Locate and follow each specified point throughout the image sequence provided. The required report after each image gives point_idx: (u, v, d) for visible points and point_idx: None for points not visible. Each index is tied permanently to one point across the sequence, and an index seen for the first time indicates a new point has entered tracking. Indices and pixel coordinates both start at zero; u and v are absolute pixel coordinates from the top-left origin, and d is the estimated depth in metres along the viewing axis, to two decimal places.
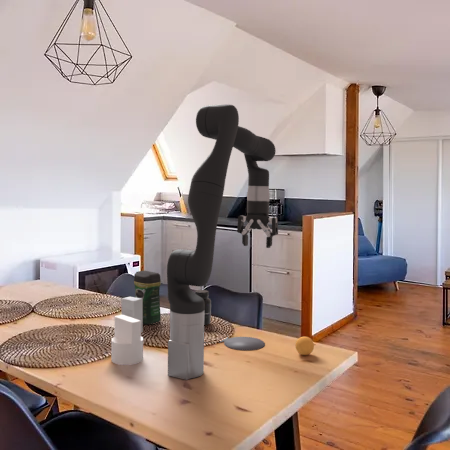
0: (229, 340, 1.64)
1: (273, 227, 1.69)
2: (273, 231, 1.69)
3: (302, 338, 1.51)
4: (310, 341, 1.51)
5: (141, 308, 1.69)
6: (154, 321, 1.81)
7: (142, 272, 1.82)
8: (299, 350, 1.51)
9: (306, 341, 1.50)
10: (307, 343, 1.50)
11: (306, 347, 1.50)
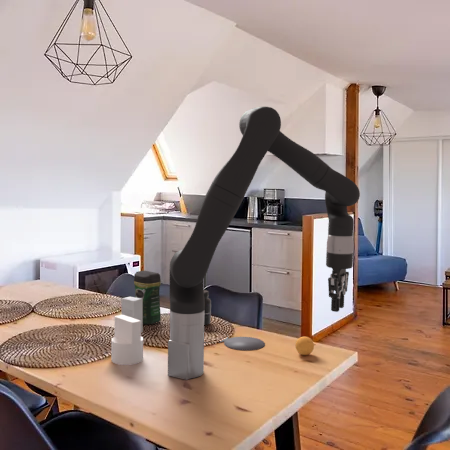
0: (229, 340, 1.64)
1: (347, 282, 1.51)
2: (346, 287, 1.50)
3: (302, 338, 1.51)
4: (310, 341, 1.51)
5: (141, 308, 1.69)
6: (154, 321, 1.81)
7: (142, 272, 1.82)
8: (299, 350, 1.51)
9: (306, 341, 1.50)
10: (307, 343, 1.50)
11: (306, 347, 1.50)
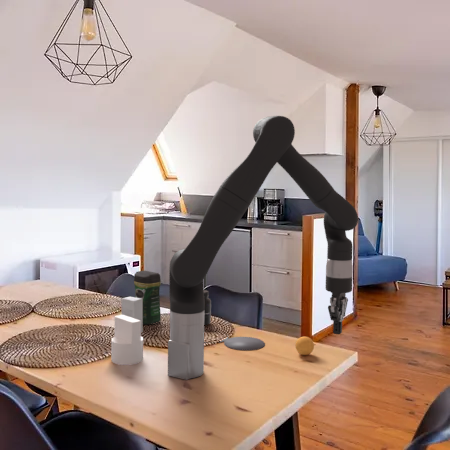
0: (229, 340, 1.64)
1: (345, 308, 1.50)
2: (344, 312, 1.49)
3: (302, 338, 1.51)
4: (310, 341, 1.51)
5: (141, 308, 1.69)
6: (154, 321, 1.81)
7: (142, 272, 1.82)
8: (299, 350, 1.51)
9: (306, 341, 1.50)
10: (307, 343, 1.50)
11: (306, 347, 1.50)
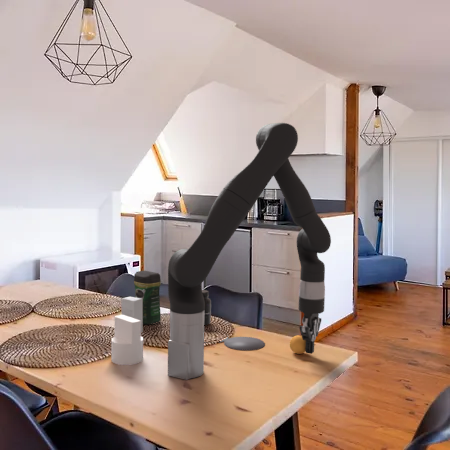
0: (229, 340, 1.64)
1: (318, 328, 1.53)
2: (317, 332, 1.53)
3: (292, 338, 1.53)
4: (301, 337, 1.53)
5: (141, 308, 1.69)
6: (154, 321, 1.81)
7: (142, 272, 1.82)
8: (295, 349, 1.51)
9: (297, 338, 1.52)
10: (299, 339, 1.51)
11: (299, 343, 1.51)
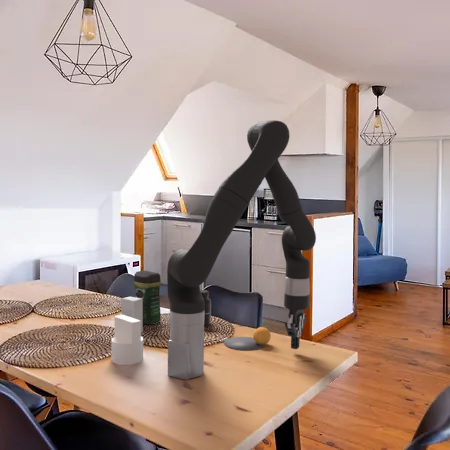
0: (229, 340, 1.64)
1: None
2: (302, 328, 1.56)
3: (265, 334, 1.59)
4: (267, 341, 1.60)
5: (141, 308, 1.69)
6: (154, 321, 1.81)
7: (142, 272, 1.82)
8: (254, 337, 1.60)
9: (264, 340, 1.59)
10: (264, 342, 1.59)
11: (260, 342, 1.59)
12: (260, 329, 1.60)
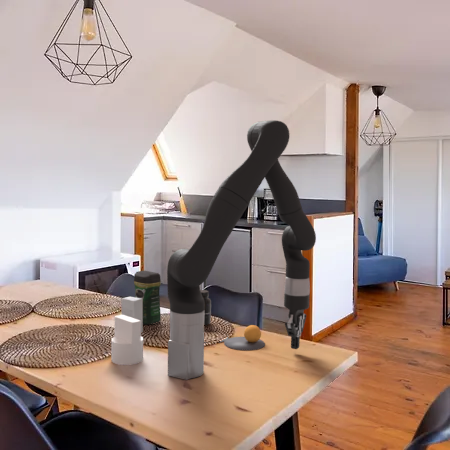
0: (229, 340, 1.64)
1: None
2: (302, 328, 1.56)
3: (248, 327, 1.62)
4: (256, 329, 1.62)
5: (141, 308, 1.69)
6: (154, 321, 1.81)
7: (142, 272, 1.82)
8: (247, 338, 1.62)
9: (252, 329, 1.61)
10: (254, 331, 1.61)
11: (253, 335, 1.61)
12: None
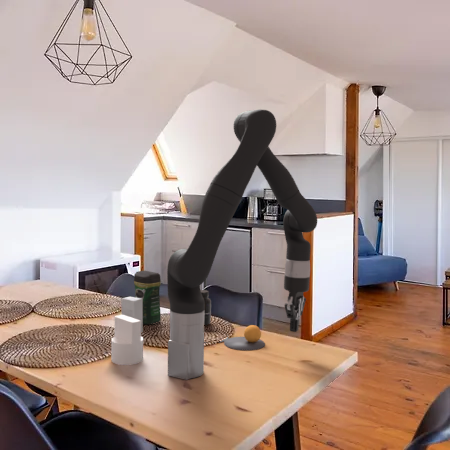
0: (229, 340, 1.64)
1: (303, 307, 1.56)
2: (302, 311, 1.55)
3: (248, 327, 1.62)
4: (256, 329, 1.62)
5: (141, 308, 1.69)
6: (154, 321, 1.81)
7: (142, 272, 1.82)
8: (247, 338, 1.62)
9: (252, 329, 1.61)
10: (254, 331, 1.61)
11: (253, 335, 1.61)
12: None
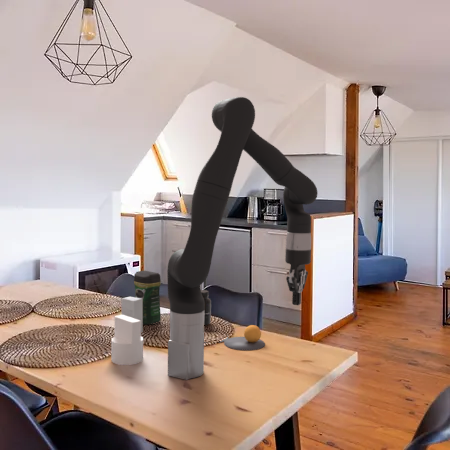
0: (229, 340, 1.64)
1: (305, 280, 1.55)
2: (304, 284, 1.54)
3: (248, 327, 1.62)
4: (256, 329, 1.62)
5: (141, 308, 1.69)
6: (154, 321, 1.81)
7: (142, 272, 1.82)
8: (247, 338, 1.62)
9: (252, 329, 1.61)
10: (254, 331, 1.61)
11: (253, 335, 1.61)
12: None
